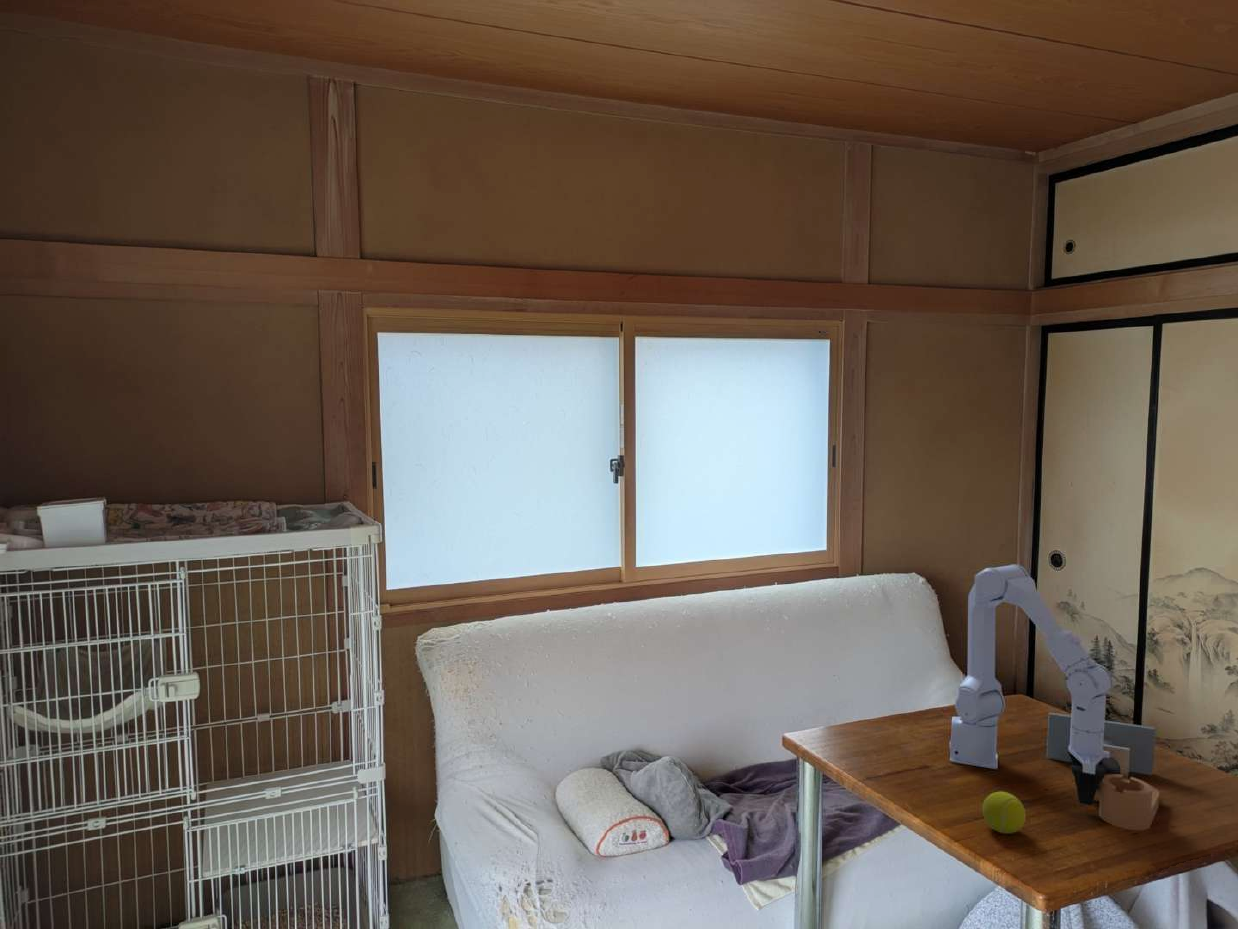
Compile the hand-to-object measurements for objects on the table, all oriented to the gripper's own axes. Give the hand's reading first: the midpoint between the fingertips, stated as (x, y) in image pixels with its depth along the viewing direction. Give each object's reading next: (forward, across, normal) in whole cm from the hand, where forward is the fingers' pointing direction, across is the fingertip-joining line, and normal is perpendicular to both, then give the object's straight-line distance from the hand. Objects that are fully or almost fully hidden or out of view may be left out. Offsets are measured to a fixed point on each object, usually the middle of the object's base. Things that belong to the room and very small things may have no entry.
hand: (1083, 795), depth 166 cm
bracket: (+2, +1, -8) cm, 8 cm away
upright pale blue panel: (+2, +16, -4) cm, 17 cm away
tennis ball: (+2, -19, +14) cm, 24 cm away
